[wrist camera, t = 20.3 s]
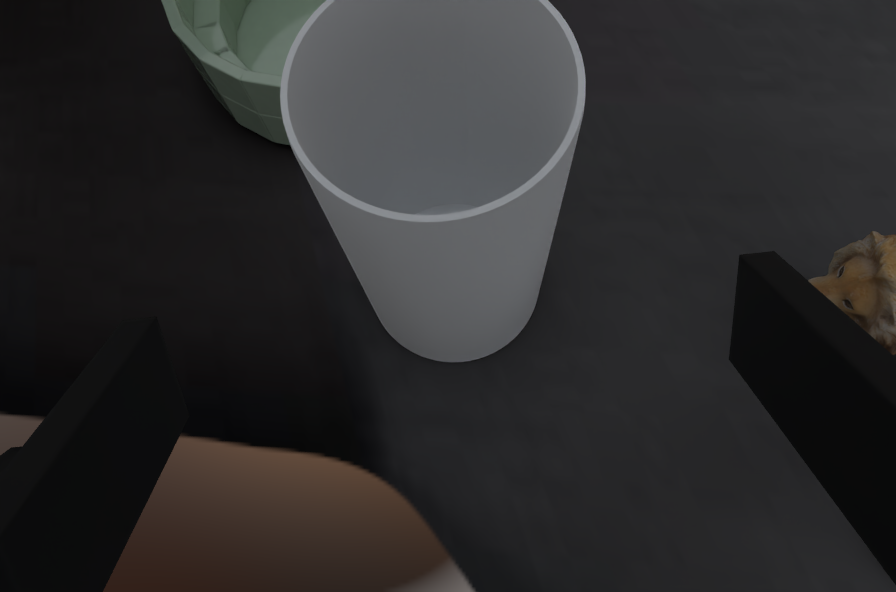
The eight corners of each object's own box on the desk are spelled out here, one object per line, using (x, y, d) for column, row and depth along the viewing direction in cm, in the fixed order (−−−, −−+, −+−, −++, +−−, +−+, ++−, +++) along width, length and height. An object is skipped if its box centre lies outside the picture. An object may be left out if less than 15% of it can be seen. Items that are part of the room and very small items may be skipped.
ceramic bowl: (155, 84, 38) (98, 7, 32) (301, -95, 41) (271, -193, 36) (372, 199, 35) (351, 138, 29) (509, -3, 39) (513, -93, 33)
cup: (351, 343, 33) (238, 191, 18) (392, 189, 35) (324, -61, 20) (522, 378, 32) (558, 251, 17) (552, 218, 34) (609, -21, 19)
